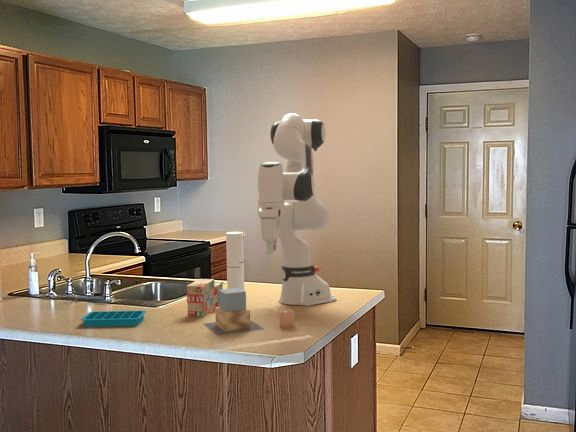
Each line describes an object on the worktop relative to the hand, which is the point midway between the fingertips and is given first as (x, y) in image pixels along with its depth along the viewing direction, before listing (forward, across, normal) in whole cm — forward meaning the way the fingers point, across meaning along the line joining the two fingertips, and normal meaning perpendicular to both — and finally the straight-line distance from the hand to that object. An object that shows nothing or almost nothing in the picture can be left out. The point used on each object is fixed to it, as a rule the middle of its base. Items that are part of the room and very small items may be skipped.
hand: (271, 252), depth 212 cm
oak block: (+24, +4, -13) cm, 28 cm away
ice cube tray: (+26, -4, -56) cm, 62 cm away
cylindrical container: (+24, -56, -22) cm, 65 cm away
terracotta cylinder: (+25, +3, +5) cm, 26 cm away
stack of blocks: (+25, -20, -27) cm, 42 cm away
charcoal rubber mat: (+25, +4, -13) cm, 29 cm away
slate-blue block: (+18, +4, -13) cm, 23 cm away
